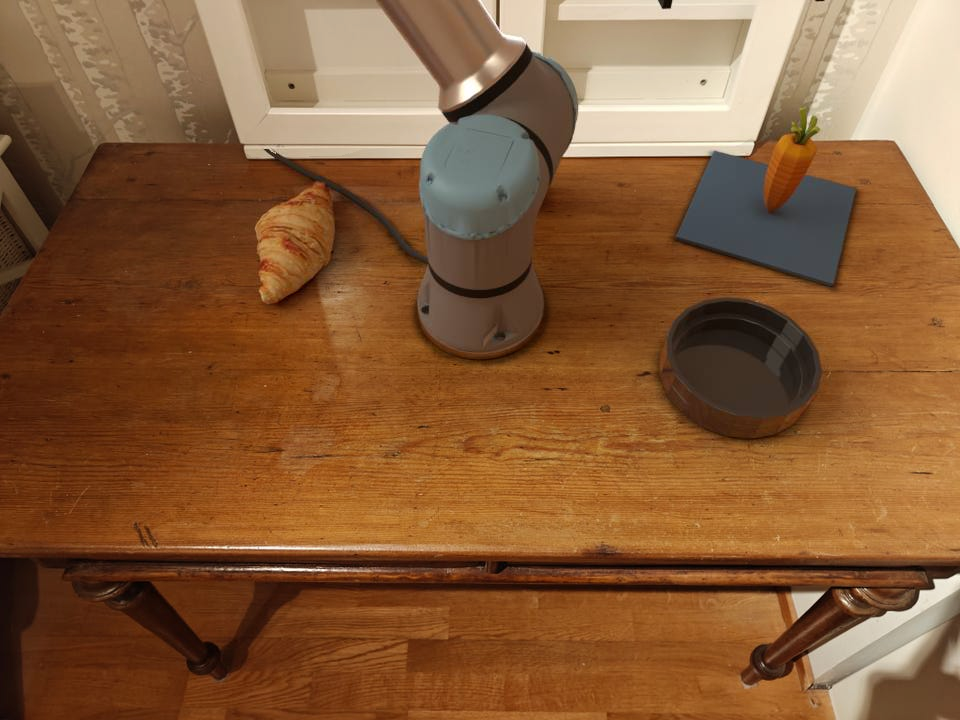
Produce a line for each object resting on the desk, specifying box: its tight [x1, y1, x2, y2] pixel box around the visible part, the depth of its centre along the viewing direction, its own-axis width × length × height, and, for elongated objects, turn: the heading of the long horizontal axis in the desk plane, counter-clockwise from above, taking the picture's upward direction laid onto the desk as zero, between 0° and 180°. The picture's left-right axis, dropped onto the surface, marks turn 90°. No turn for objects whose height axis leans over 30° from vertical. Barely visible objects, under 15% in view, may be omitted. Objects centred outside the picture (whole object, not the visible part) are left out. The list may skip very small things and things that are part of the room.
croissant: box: [254, 181, 336, 305], centre depth 89 cm, size 21×10×8 cm, turn 170°
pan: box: [658, 296, 823, 440], centre depth 77 cm, size 16×16×4 cm
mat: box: [675, 150, 857, 288], centre depth 95 cm, size 20×20×1 cm
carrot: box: [763, 107, 821, 212], centre depth 88 cm, size 5×5×15 cm
